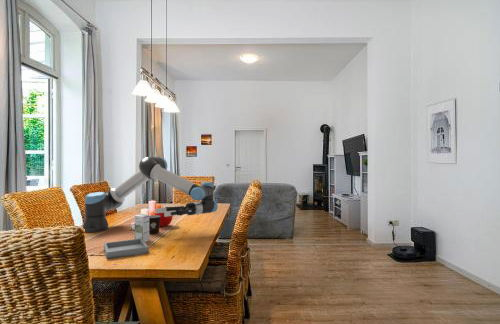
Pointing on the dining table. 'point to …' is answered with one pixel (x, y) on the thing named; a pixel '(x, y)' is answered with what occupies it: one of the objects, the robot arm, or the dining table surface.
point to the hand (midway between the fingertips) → (159, 212)
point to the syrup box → (142, 227)
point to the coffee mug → (154, 224)
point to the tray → (125, 248)
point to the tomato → (164, 219)
